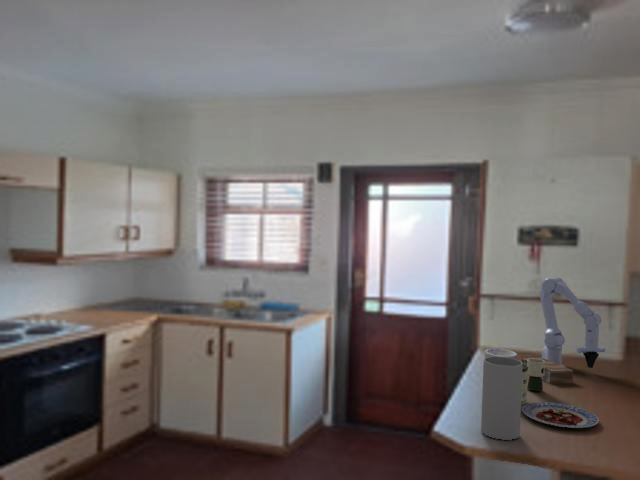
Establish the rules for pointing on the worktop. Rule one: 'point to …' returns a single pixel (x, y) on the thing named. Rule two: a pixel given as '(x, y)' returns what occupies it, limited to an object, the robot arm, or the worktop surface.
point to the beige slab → (554, 372)
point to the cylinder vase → (501, 397)
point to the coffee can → (524, 384)
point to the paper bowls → (500, 353)
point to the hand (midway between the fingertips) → (590, 367)
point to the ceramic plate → (560, 415)
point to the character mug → (535, 374)
